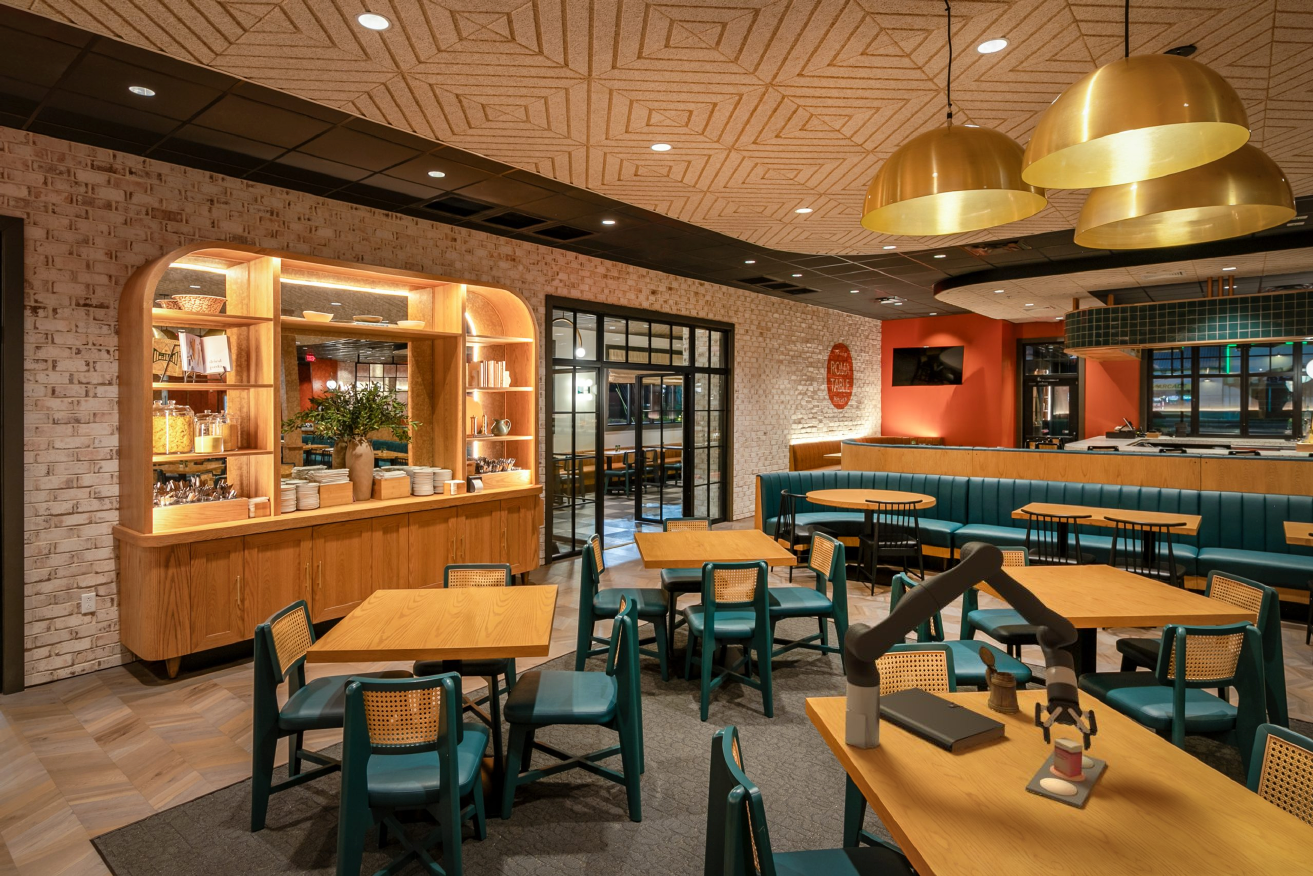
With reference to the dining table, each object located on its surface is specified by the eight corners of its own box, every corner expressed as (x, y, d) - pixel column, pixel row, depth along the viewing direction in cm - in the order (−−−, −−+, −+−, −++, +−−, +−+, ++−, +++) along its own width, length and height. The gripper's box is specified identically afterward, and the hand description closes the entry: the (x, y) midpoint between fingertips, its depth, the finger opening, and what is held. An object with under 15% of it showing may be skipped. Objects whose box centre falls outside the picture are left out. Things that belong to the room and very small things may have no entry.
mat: (1080, 808, 166) (1080, 803, 166) (1025, 790, 174) (1025, 785, 174) (1106, 764, 188) (1106, 760, 188) (1056, 750, 196) (1056, 746, 196)
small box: (1052, 769, 183) (1053, 739, 182) (1064, 766, 184) (1065, 736, 184) (1070, 778, 178) (1071, 747, 178) (1082, 775, 179) (1083, 744, 179)
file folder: (1006, 723, 205) (949, 741, 194) (1006, 737, 205) (949, 755, 194) (916, 686, 234) (863, 699, 223) (916, 698, 234) (863, 712, 223)
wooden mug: (989, 696, 235) (990, 643, 235) (1025, 711, 223) (1026, 655, 222) (970, 700, 231) (971, 646, 231) (1006, 716, 219) (1006, 659, 219)
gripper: (1033, 677, 192) (1037, 735, 182) (1093, 685, 187) (1101, 745, 177) (1031, 690, 197) (1035, 747, 187) (1089, 697, 192) (1097, 757, 182)
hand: (1067, 746), depth 182 cm, fingers open, 8 cm apart
